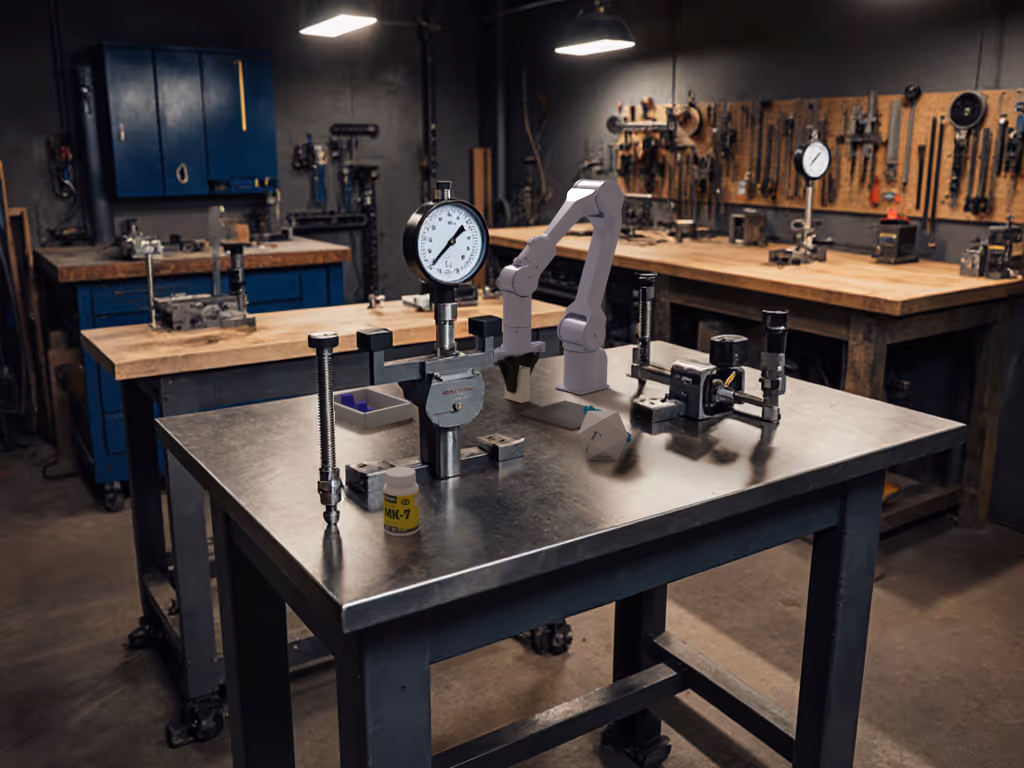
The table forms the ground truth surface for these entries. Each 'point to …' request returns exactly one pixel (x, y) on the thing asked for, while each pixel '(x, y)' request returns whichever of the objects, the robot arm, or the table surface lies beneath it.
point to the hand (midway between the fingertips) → (516, 390)
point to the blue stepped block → (355, 403)
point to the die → (602, 435)
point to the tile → (521, 386)
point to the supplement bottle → (401, 502)
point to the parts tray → (390, 413)
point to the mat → (559, 414)
